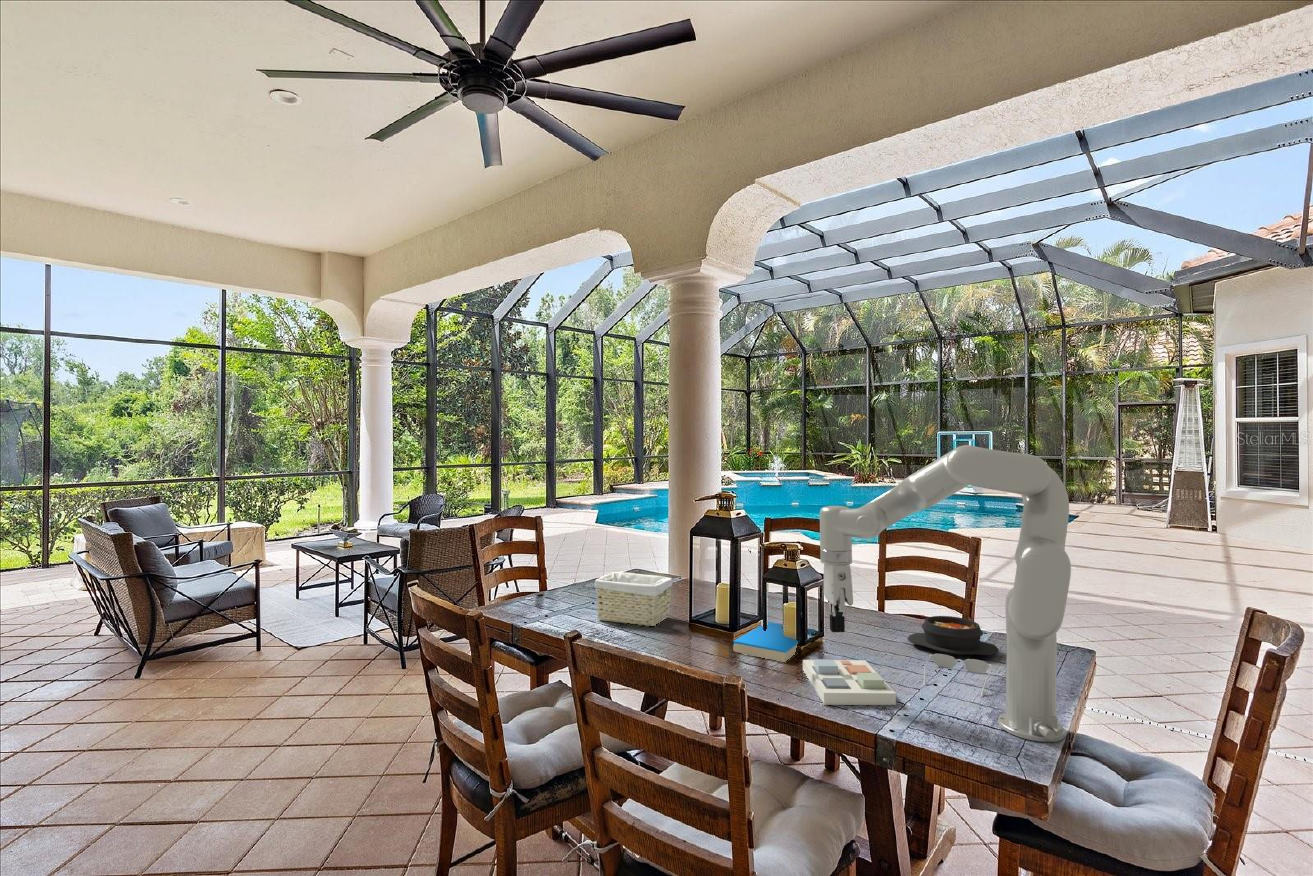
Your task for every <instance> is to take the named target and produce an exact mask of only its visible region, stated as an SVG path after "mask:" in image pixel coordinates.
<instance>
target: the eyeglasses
mask: <svg viewBox="0 0 1313 876" xmlns="http://www.w3.org/2000/svg"><path fill="white" fill-rule="evenodd" d="M931 658H932V660H933V662H934V664H935V665H938V666H937V667H939V666H943V667H942V668H945V667H948V668H947V669H950V668H952V669H954V667H956V664H957V661H958V662H959V661H960V662H963V666H964V668H965V670H966V671H967V672H970V673H975V674H980V673H981V675H985V674H986V672H987V671H988V669H991V668H992V664H991V663H988V662H987V661H984V660H979V659H973V658H972V659H971V658H967V659H965V660H962V659H960V658H958V659H956V658H955V657H954V656H953V655H949V654H944V653H934V654H929V657H928V659H927V660H926V662H925V663H924V670H923V683H922V685H923V684H924V685H925V686H924V687H927V681H926V678H927V677H926V664H927V662H928V660H930V659H931ZM990 674H991V671H989V673H988V676H987V677H986V678H985V680H984V683H983V686H982V691H981V694H980V697H983V696H984V697H985V689H986V684H987V680H988V679H989V677H990Z"/></svg>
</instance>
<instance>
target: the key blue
mask: <svg viewBox="0 0 1313 876" xmlns="http://www.w3.org/2000/svg"><path fill="white" fill-rule="evenodd" d="M813 660H814V670H815V671H816V673H817V674H818V675H838V665H837V664H836V663H835V661H834V660H835V659H821V658H820V659H813Z"/></svg>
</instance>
